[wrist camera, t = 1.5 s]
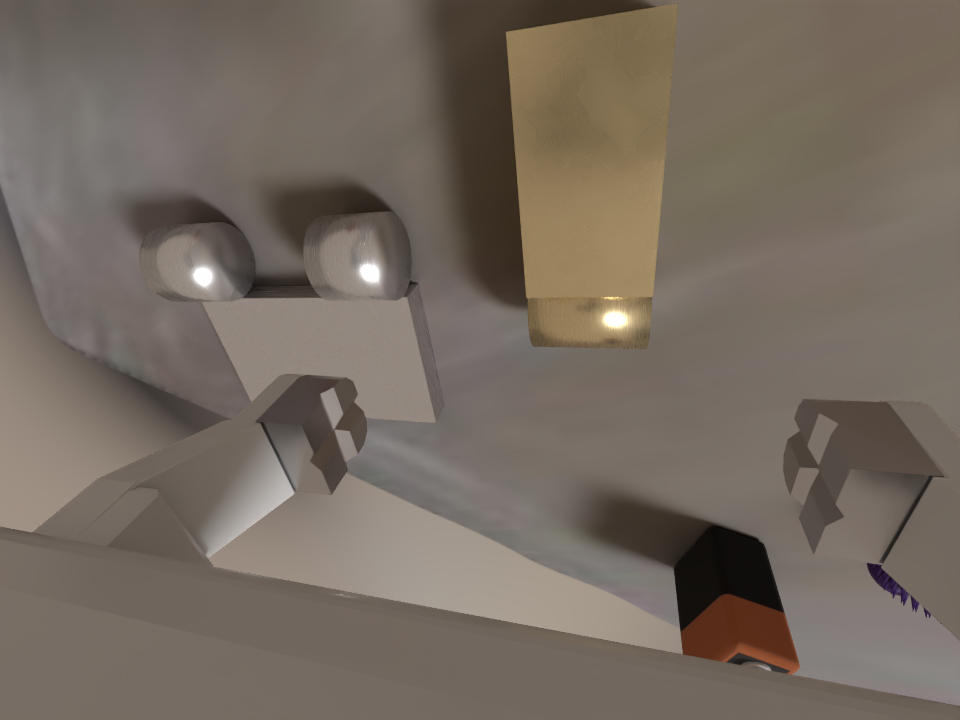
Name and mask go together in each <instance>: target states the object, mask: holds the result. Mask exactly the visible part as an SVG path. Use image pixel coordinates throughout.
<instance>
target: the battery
mask: <svg viewBox="0 0 960 720" xmlns="http://www.w3.org/2000/svg"><path fill="white" fill-rule="evenodd" d="M674 575H675V584H676V593H677V603H678V612H679V622H680V631H681V640H682V650H683V655H689V656H694V657H699V658H705V659H710V660H715V661H721V662H726V663H732V664H737V665H742V666H748V667H753V668H758V669H764V670H769V671H774V672H780V673H785V674H791V675H792V674H793V673H795V672H796V671H797V670H798V669H799V667H800V665H799V661H798V657H797V654H796V650H795V647H794V644H793V640H792V637H791V633H790V630H789V627H788V623H787V620H786V616H785V613H784V610H783V606H782V603H781V599H780V596H779V592H778V589H777V586H776V582H775V579H774V575H773V572H772V569H771V565H770V562H769V558H768V555H767V552H766V548H765V546H764V544H763V543H762V542H759V541H756V540H753V539H750V538H747V537H744V536H741V535H738V534H735V533H732V532H729V531H726V530H723V529H720V528H717V527H711V528H709V529H708V530H707V532H706V533H705V534H704V535H703V536H702V537H701V538H700V539H699V541H698V542H697V543H696V544H695V545H694V546H693V547H692V548H691V550H690V551H689V552H688V553H687V554H686V555H685V556H684V557H683V559H682V560H681V561H680V562H679V563H678V564H677V565H676V567H675V568H674Z"/></svg>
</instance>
